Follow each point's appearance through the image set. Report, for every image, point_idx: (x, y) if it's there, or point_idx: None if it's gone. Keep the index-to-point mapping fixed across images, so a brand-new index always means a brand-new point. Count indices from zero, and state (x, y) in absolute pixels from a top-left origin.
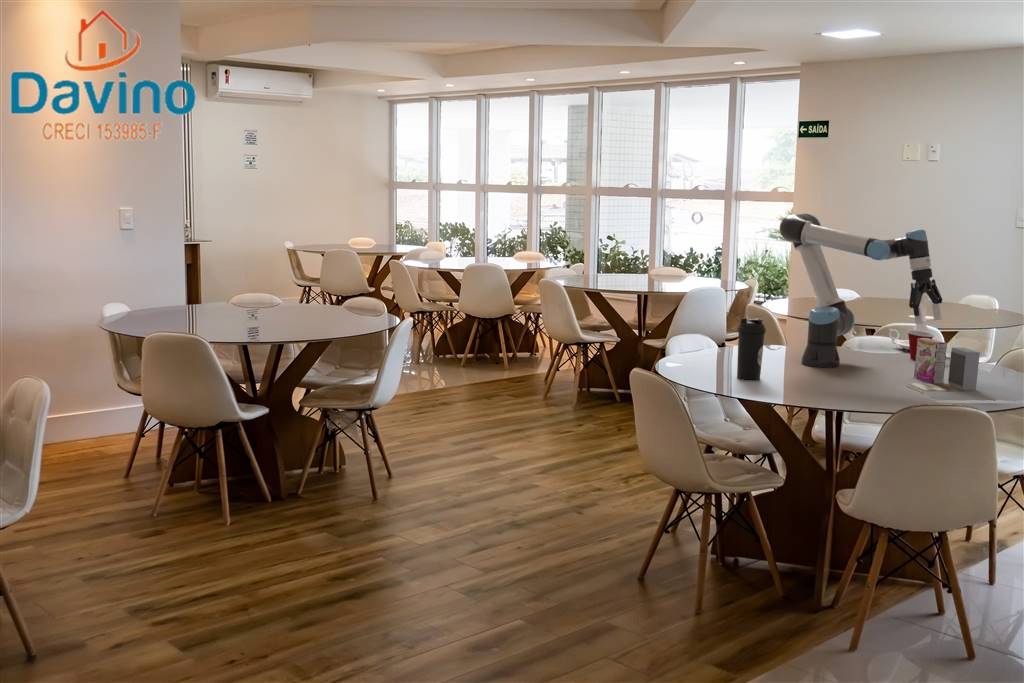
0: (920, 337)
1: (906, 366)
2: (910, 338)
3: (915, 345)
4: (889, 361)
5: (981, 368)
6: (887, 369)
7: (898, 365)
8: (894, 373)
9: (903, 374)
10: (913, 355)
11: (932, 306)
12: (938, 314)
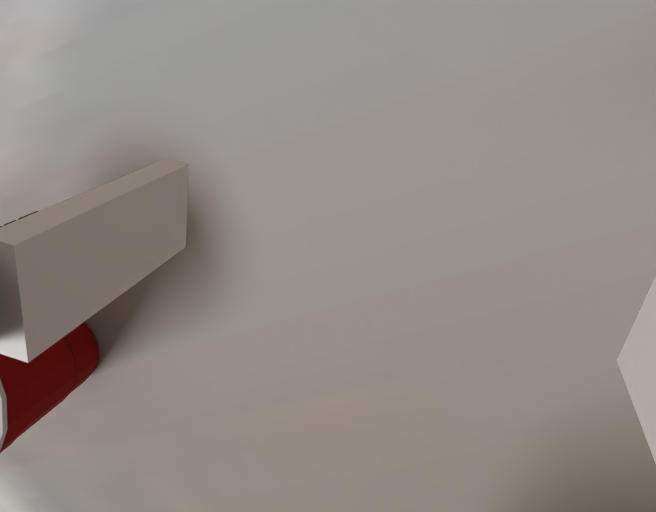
0: (6, 381)
1: (303, 343)
2: (16, 436)
3: (48, 386)
4: (225, 449)
5: (48, 17)
6: (490, 404)
7: (306, 384)
8: (608, 338)
9: (602, 285)
10: (84, 371)
11: (57, 338)
12: (146, 204)
